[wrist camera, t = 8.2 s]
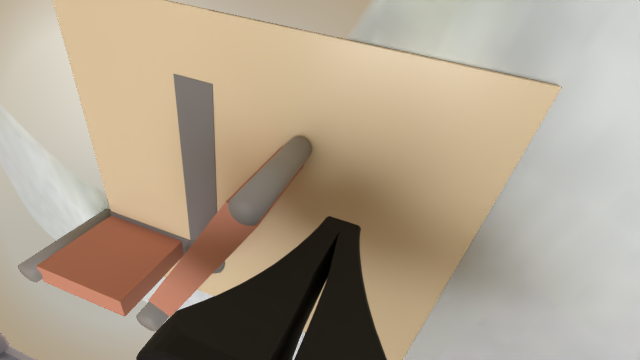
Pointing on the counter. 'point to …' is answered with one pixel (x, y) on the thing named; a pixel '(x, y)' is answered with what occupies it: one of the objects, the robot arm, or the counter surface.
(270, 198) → the fence gate
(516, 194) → the counter surface
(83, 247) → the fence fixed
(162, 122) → the card
